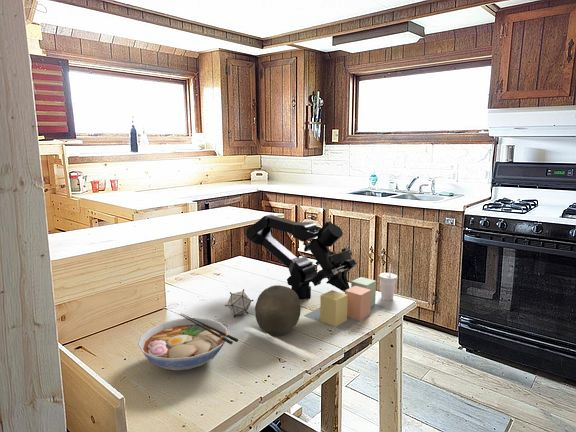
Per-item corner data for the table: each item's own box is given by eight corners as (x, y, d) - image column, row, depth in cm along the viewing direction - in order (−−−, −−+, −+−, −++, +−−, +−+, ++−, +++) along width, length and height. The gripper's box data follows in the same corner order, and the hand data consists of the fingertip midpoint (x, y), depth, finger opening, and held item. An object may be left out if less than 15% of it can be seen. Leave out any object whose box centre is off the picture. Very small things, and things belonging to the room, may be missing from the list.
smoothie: (391, 306, 146) (393, 267, 144) (374, 302, 150) (376, 264, 148) (399, 300, 151) (401, 263, 149) (382, 296, 155) (384, 260, 153)
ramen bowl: (122, 360, 112) (120, 331, 111) (196, 332, 128) (195, 307, 126) (170, 401, 95) (168, 368, 93) (249, 363, 110) (248, 334, 109)
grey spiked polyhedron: (234, 325, 140) (214, 303, 139) (246, 308, 147) (228, 287, 145) (250, 320, 135) (230, 296, 133) (263, 302, 141) (244, 280, 139)
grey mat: (303, 319, 137) (303, 315, 136) (345, 297, 154) (345, 294, 154) (344, 334, 126) (344, 330, 126) (384, 309, 144) (384, 306, 143)
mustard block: (320, 320, 132) (320, 295, 131) (331, 314, 137) (331, 290, 135) (335, 326, 128) (336, 300, 127) (346, 320, 133) (347, 294, 131)
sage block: (350, 304, 145) (351, 281, 143) (360, 299, 149) (361, 276, 148) (365, 309, 141) (366, 285, 139) (375, 304, 145) (376, 280, 144)
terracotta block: (344, 315, 136) (344, 290, 135) (354, 309, 141) (355, 285, 139) (360, 320, 132) (360, 295, 131) (370, 314, 137) (371, 289, 135)
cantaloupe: (245, 333, 127) (243, 286, 124) (281, 320, 136) (281, 275, 133) (274, 351, 116) (273, 300, 113) (311, 336, 125) (311, 288, 122)
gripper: (319, 246, 131) (348, 288, 126) (352, 235, 145) (380, 273, 139) (300, 265, 138) (326, 306, 133) (333, 253, 151) (359, 290, 146)
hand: (349, 293), depth 138 cm, fingers closed, pressing on terracotta block
